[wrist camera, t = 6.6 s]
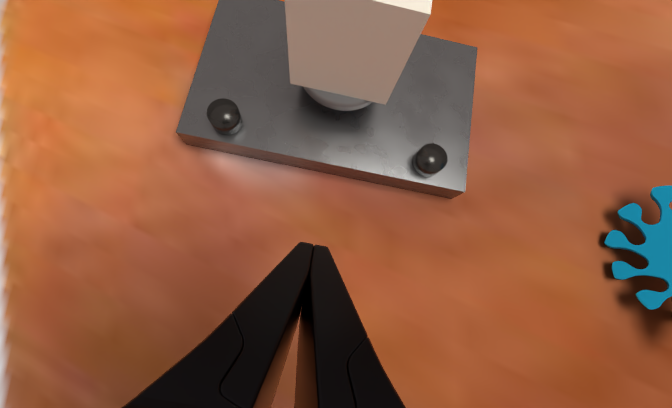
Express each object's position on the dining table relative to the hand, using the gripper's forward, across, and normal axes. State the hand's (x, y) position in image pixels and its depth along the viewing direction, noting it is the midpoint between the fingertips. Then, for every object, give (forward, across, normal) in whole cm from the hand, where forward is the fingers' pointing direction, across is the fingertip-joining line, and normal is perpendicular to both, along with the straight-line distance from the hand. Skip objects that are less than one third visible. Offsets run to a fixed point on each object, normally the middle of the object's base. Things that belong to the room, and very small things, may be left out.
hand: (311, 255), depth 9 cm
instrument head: (+16, 0, -4) cm, 17 cm away
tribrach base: (+18, 0, 0) cm, 18 cm away
